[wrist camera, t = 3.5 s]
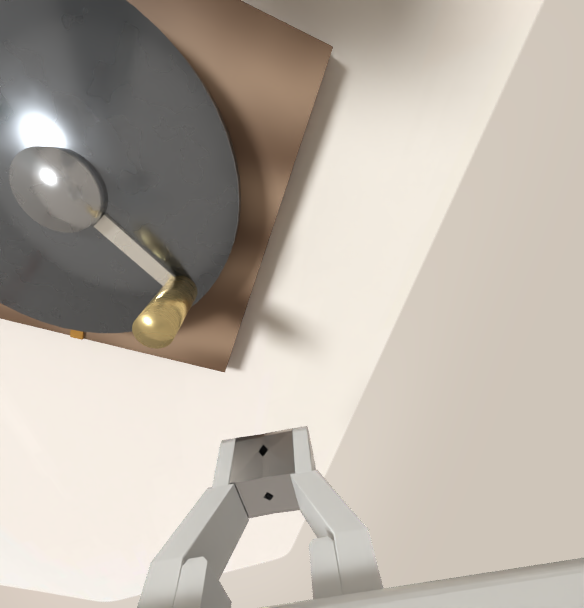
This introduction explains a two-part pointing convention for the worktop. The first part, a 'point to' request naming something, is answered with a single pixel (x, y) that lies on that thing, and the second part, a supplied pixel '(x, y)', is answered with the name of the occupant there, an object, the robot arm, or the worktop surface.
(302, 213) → the worktop surface
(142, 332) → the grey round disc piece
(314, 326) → the worktop surface
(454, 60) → the worktop surface
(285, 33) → the stand plate
